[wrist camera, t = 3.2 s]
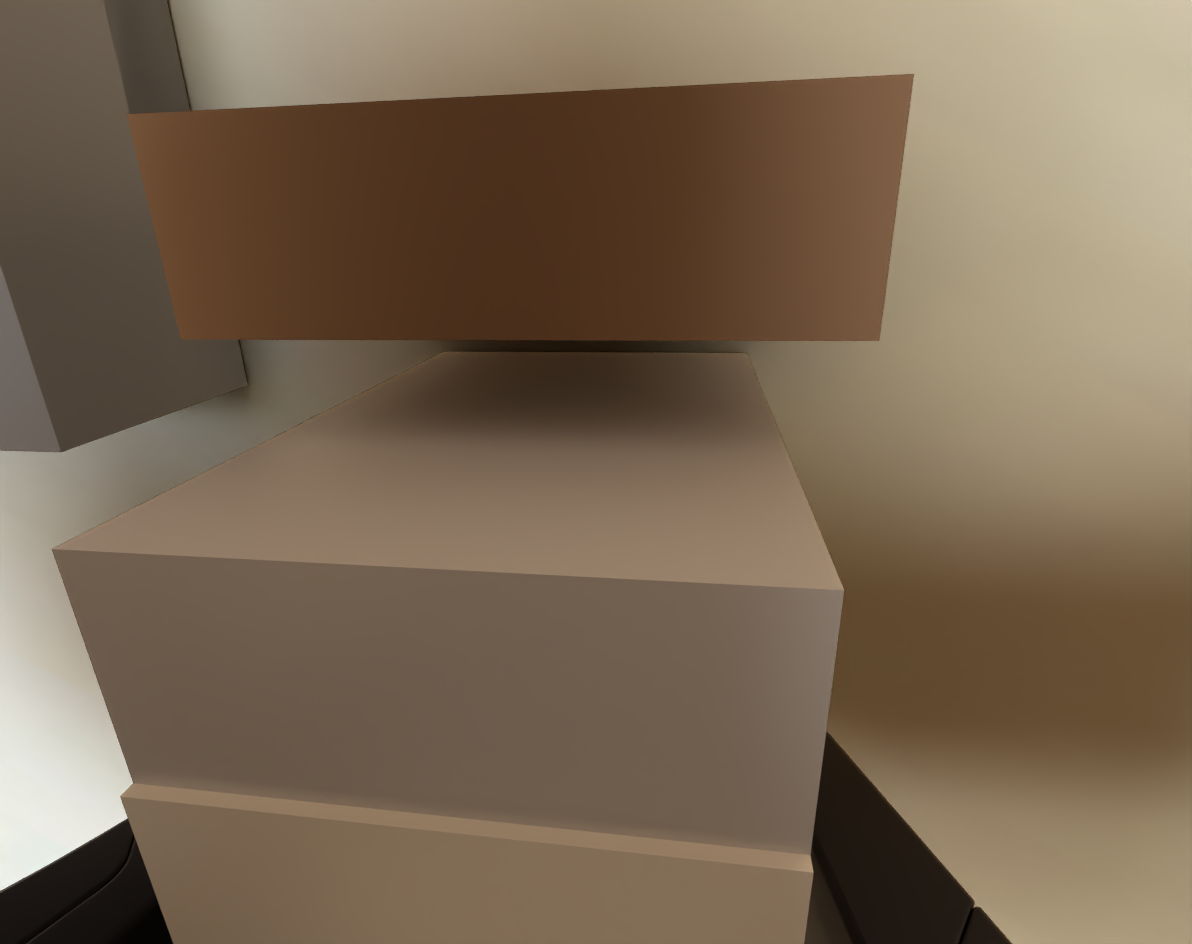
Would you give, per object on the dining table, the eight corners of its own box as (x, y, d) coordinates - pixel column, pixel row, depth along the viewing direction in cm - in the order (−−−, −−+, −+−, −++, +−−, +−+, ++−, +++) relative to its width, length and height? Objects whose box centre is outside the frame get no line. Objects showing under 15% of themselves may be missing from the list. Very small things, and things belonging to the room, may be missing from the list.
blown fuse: (746, 351, 8) (859, 621, 3) (715, 863, 12) (736, 1489, 6) (446, 350, 9) (5, 571, 3) (495, 839, 12) (317, 1388, 6)
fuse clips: (804, 149, 7) (914, 74, 4) (737, 960, 12) (756, 1282, 8) (385, 165, 8) (126, 114, 4) (477, 926, 13) (390, 1211, 9)
